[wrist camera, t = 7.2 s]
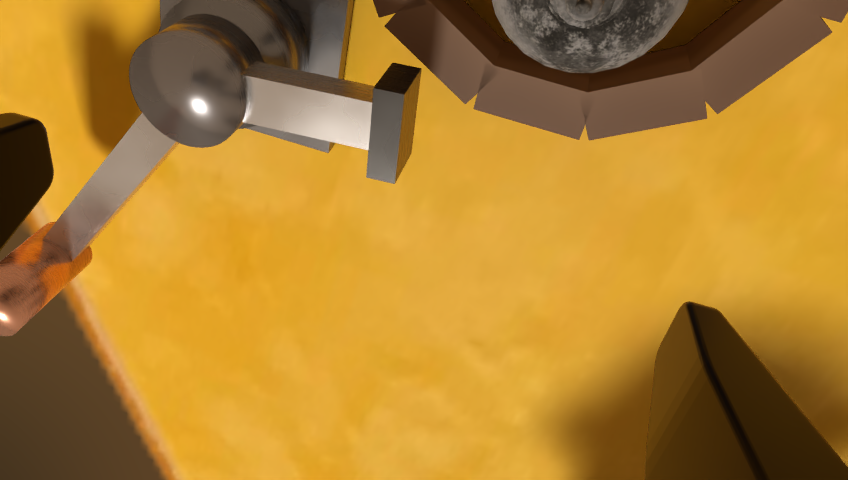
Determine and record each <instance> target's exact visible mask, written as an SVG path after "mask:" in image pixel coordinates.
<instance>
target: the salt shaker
mask: <svg viewBox="0 0 848 480" xmlns="http://www.w3.org/2000/svg"><path fill="white" fill-rule="evenodd" d="M688 1H689V0H492V3H493V7H494V11H495V14H496V16H497V18H498V20H499V22H500V24H501V25H502V27H503V29H504V31H505V33H506V35H507V36H508V37H509V38H510V39H511V40H512V41H513V42H514V43H515V44H516V46H517V47H518V48H519V49H520V50H521V51H522V52H523V53H524V54H526V55H528V56H529V57H531V58H532V59H534V60H536V61H537V62H539V63H541V64H542V65H544V66H547V67H551V68H554V69H558V70H561V71H564V72H568V73H596V72H600V71H604V70H609V69H613V68H618V67H620V66H622V65H624V64H626V63H628V62H630V61H632V60H634V59H636V58H638V57H640V56H642V55H644V54H645V53H646V52H647V51H648V50H650V49H651V48H652V47H653V46H654V45H656V44H657V43H658V42H659V41H660V40H662V39H663V38H664V37H665V36H666V34H667V33H668V32H669V30H670V29H671V28H672V26H673V25H674V24H675V22H676V21H677V20H678V18H679V17H680V16H681V15H682V13H683V11H684V10H685V8H686V5H687V3H688Z"/></svg>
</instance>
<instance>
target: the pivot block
mask: <svg viewBox="0 0 848 480" xmlns="http://www.w3.org/2000/svg"><path fill="white" fill-rule="evenodd" d="M353 3H354V0H160V15H161V26H160V30H159V32H161V31H163V30H164V29H166V28H168V27H169V26H171V25H173V24H175V23H176V22H178V21H180V20H181V19H183V18H185V17H187V16H190V15H194V14H211V15H215V16H219V17H221V18H224V19H226V20H228V21H230V22H232V23H234V24H235V25H236V26H238V27H239V28H240V29H242V30H243V31H244V32H245V33H246V34H247V35H248V36H249V37H250V38H251V39H252V41H253V42H254V43H255V45H256V46H257V48H258V50H259V51H260V53H261V55H262V57H263V60H264V63H267V64H272V65H277V66H282V67H286V68H291V69H296V70H300V71H305V72H310V73H315V74H319V75H324V76H329V77H334V78H338V79H343V77H344V70H345V62H346V55H347V48H348V40H349V33H350V25H351V18H352V11H353ZM243 128H247V129H251V130H254V131H257V132H261V133H264V134H267V135H270V136H274V137H277V138H280V139H284V140H287V141H290V142H294V143H297V144H300V145H304V146H307V147H310V148H314V149H317V150H320V151H323V152H327V153H329V151H330V150H331V149H332V147H333V146H334V142H329V141H325V140H320V139H316V138H311V137H307V136H303V135H298V134H294V133H289V132H285V131H280V130H276V129H271V128H267V127H262V126H258V125H253V124H249V123H243V124H242V125H241V126H240V127H239V128H238V129H243Z"/></svg>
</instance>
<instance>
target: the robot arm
mask: <svg viewBox="0 0 848 480" xmlns="http://www.w3.org/2000/svg"><path fill="white" fill-rule="evenodd" d="M53 175H54V170H53V164H52V158H51V153H50V148H49V142H48V137H47V132H46V128H45V127H44V125H43V124H42V122H40V121H39V120H37V119H34V118H31V117H27V116H24V115H20V114H16V113H4V114H0V251H1V249H2V248H3V247H4V246H5V244H6V243H7V242H8V240H9V239H10V238H11V236H12V235H13V234H14V233H15V231H16V230H17V228H18V227H19V226H20V225H21V224H22V222H23V221H24V220H25V218H26V217H27V216H28V215H29V213H30V212H31V211H32V209H33V208H34V207H35V205H36V204H37V203H38V202H39V200H40V199H41V198H42V196H43V195H44V194H45V193H46V191H47V190H48V189H49V187H50V185H51V183H52V180H53ZM645 480H848V467H847V466H846V465H845V463H844V462H843V461H842V460H841V459H840V457H839V456H838V455H837V454H836V452H835V451H834V450H833V449H832V448H831V446H830V445H829V444H828V443H827V441H826V440H825V439H824V438H823V437H822V435H821V434H820V433H819V432H818V430H817V429H816V428H815V427H814V426H813V424H812V423H811V422H810V421H809V419H808V418H807V417H806V416H805V415H804V413H803V412H802V411H801V410H800V408H799V407H798V406H797V405H796V404H795V402H794V401H793V400H792V399H791V398H790V396H789V395H788V394H787V393H786V391H785V390H784V389H783V388H782V387H781V385H780V384H779V383H778V382H777V380H776V379H775V378H774V377H773V376H772V374H771V373H770V372H769V371H768V369H767V368H766V367H765V366H764V365H763V363H762V362H761V361H760V360H759V358H758V357H757V356H756V355H755V354H754V352H753V351H752V350H751V349H750V347H749V346H748V345H747V344H746V343H745V341H744V340H743V339H742V338H741V336H740V335H739V334H738V333H737V332H736V330H735V329H734V328H733V327H732V325H731V324H730V323H729V322H728V321H727V319H726V318H725V317H724V316H723V315H722V313H721V312H720V311H719V310H717V309H715V308H712V307H708V306H704V305H701V304H697V303H694V302H686V303H684V304H683V305H682V306H681V307H680V308H679V310H678V312H677V314H676V316H675V318H674V320H673V322H672V323H671V325H670V327H669V329H668V331H667V333H666V335H665V337H664V339H663V341H662V343H661V345H660V347H659V350H658V353H657V356H656V361H655V369H654V379H653V388H652V398H651V408H650V417H649V427H648V436H647V446H646V457H645Z"/></svg>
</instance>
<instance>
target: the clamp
mask: <svg viewBox="0 0 848 480" xmlns="http://www.w3.org/2000/svg"><path fill="white" fill-rule="evenodd" d="M420 77H421V68H417V67H412V66H407V65H402V64H397V63H392V64H391V66H390V67H389V68H388V70H387V71H386V72H385V73H384V75H383V76H382V77H381V79H380V80H379V81H378V83H377V84H376V85H375V86H371V85H367V84H362V83H357V82H352V81H348V80H343V79H338V78H334V77H329V76H324V75H319V74H315V73H310V72H305V71H300V70H296V69H291V68H286V67H282V66H277V65H272V64H267V63H264V60H263V57H262V55H261V53H260V51H259V50H258V48H257V46H256V45H255V43H254V42H253V41H252V39H251V38H250V37H249V36H248V35H247V34H246V33H245V32H244V31H243V30H242V29H240V28H239V27H238V26H236V25H235V24H234V23H232V22H230V21H228V20H226V19H224V18H221V17H219V16H215V15H211V14H194V15H190V16H187V17H185V18H183V19H181V20H180V21H178V22H176V23H175V24H173V25H171V26H169V27H168V28H166V29H164V30H163V31H161V32H159V33H158V34H156V35H154V36H152V37H151V38H149V39H147V40H146V41H144V42H143V43H142V44H141V45H140V46H139V47H138V48H137V49H136V51H135V52H134V54H133V57H132V59H131V63H130V68H129V79H130V85H131V90H132V93H133V96H134V98H135V100H136V103H137V105H138V106H139V108H140V110H141V111H142V114H141V115H140V116H139V117H138V119H137V120H136V121H135V122H134V124H133V125H132V126H131V128H130V129H129V130H128V131H127V133H126V134H125V135H124V136H123V138H122V139H121V140H120V141H119V143H118V144H117V145H116V147H115V148H114V149H113V150H112V152H111V153H110V154H109V155H108V157H107V158H106V159H105V160H104V162H103V163H102V164H101V166H100V167H99V168H98V169H97V171H96V172H95V173H94V174H93V176H92V177H91V178H90V179H89V181H88V182H87V183H86V185H85V186H84V187H83V188H82V190H81V191H80V192H79V193H78V195H77V196H76V197H75V199H74V200H73V201H72V202H71V204H70V205H69V206H68V207H67V209H66V210H65V211H64V212H63V214H62V215H61V216H60V218H59V219H58V220H57V221H56V222H50V223H48V224H46V225H45V226H43V227H42V228H41V229H40V230H38V231H37V232H36V233H35V234H33V235H32V236H31V237H30V238H28V239H27V240H26V241H25V242H23V243H22V244H21V245H20V246H19V247H17V248H16V249H15V250H14V251H12V252H11V253H10V254H9V255H7V256H6V257H5V258H4V259H2V260H1V261H0V335H1V336H11V335H14V334H15V333H16V332H17V331H18V330H19V329H21V327H23V326H24V325H25V324H26V323H27V322H28V321H29V320H30V319H31V318H32V317H33V316H34V315H35V314H36V313H38V312H39V311H40V310H41V309H42V308H43V307H44V306H45V305H46V304H47V303H48V302H49V301H50V300H51V299H52V298H53V297H54V296H56V295H57V294H58V293H59V292H60V291H61V290H62V289H63V288H64V287H65V286H66V285H67V284H68V283H69V282H70V281H71V280H72V279H74V278H75V277H76V276H77V275H78V274H79V273H80V272H81V271H82V270H83V269H84V268H85V267H86V266H87V265H88V264H89V263H90V262H91V260H92V251H91V248H90V245H91V244H92V242H93V241H94V240H95V239H96V238H97V237H98V236H99V234H100V233H101V232H102V231H103V230H104V229H105V227H106V226H107V225H108V224H109V223H110V222H111V221H112V219H113V218H114V217H115V216H116V215H117V214H118V213H119V211H120V210H121V209H122V208H123V207H124V206H125V205H126V203H127V202H128V201H129V200H130V199H131V198H132V197H133V195H134V194H135V193H136V192H137V191H138V190H139V189H140V187H141V186H142V185H143V184H144V183H145V182H146V181H147V179H148V178H149V177H150V176H151V175H152V174H153V173H154V171H155V170H156V169H157V168H158V167H159V166H160V165H161V163H162V162H163V161H164V160H165V159H166V158H167V156H168V155H169V154H170V153H171V152H172V151H173V150H174V148H175V147H176V146H177V145H178V144H179V143H181V144H184V145H187V146H191V147H200V148H204V147H211V146H215V145H218V144H220V143H222V142H223V141H225V140H226V139H227V138H229V137H230V136H231V135H232V134H233V133H234V132H235V131H236V130H237V129H238V128H239V127H240V126H241V125H242V124H243V123H249V124H253V125H258V126H262V127H267V128H271V129H276V130H280V131H285V132H289V133H294V134H298V135H303V136H307V137H311V138H316V139H320V140H325V141H329V142H334V143H338V144H343V145H347V146H352V147H356V148H361V149H365V150H368V163H367V176H366V177H367V178H371V179H376V180H380V181H384V182H389V183H393V184H395V183H396V181H397V179H398V177H399V175H400V173H401V172H402V170H403V168H404V166H405V164H406V162H407V160H408V159H409V157H410V155H411V152H412V143H413V135H414V127H415V118H416V110H417V102H418V94H419V85H420Z"/></svg>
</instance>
